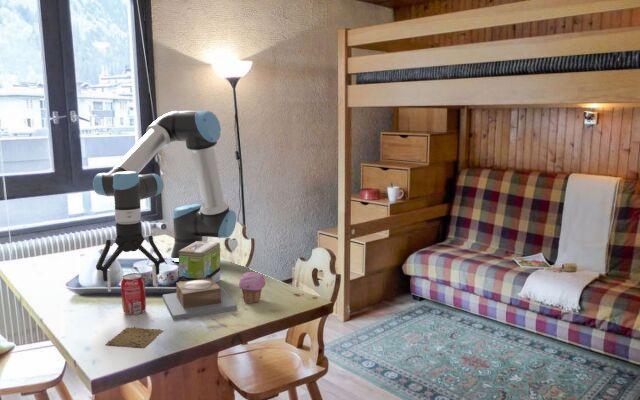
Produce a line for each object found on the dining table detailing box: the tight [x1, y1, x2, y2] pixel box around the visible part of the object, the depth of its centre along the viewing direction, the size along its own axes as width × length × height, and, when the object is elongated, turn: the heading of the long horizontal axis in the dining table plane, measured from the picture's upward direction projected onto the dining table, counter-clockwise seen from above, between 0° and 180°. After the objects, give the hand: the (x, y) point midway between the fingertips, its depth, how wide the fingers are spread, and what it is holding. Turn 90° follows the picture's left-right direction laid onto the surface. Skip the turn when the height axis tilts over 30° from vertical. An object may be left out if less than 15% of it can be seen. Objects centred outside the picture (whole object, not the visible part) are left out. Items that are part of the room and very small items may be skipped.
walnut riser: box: [175, 278, 221, 309], centre depth 176 cm, size 12×12×5 cm
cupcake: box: [238, 271, 266, 304], centre depth 179 cm, size 9×9×10 cm
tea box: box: [178, 241, 221, 283], centre depth 195 cm, size 15×10×15 cm, turn 168°
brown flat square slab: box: [104, 326, 164, 349], centre depth 152 cm, size 12×12×1 cm
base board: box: [162, 285, 237, 321], centre depth 177 cm, size 20×20×2 cm
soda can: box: [120, 272, 147, 316], centre depth 169 cm, size 7×7×12 cm
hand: (132, 287), depth 169 cm, fingers open, 13 cm apart
